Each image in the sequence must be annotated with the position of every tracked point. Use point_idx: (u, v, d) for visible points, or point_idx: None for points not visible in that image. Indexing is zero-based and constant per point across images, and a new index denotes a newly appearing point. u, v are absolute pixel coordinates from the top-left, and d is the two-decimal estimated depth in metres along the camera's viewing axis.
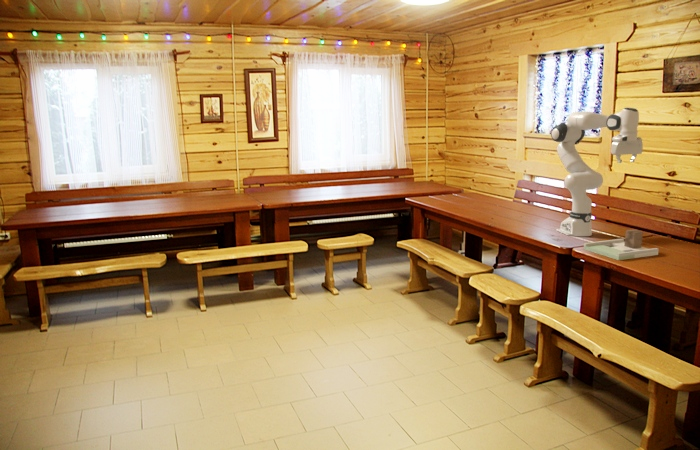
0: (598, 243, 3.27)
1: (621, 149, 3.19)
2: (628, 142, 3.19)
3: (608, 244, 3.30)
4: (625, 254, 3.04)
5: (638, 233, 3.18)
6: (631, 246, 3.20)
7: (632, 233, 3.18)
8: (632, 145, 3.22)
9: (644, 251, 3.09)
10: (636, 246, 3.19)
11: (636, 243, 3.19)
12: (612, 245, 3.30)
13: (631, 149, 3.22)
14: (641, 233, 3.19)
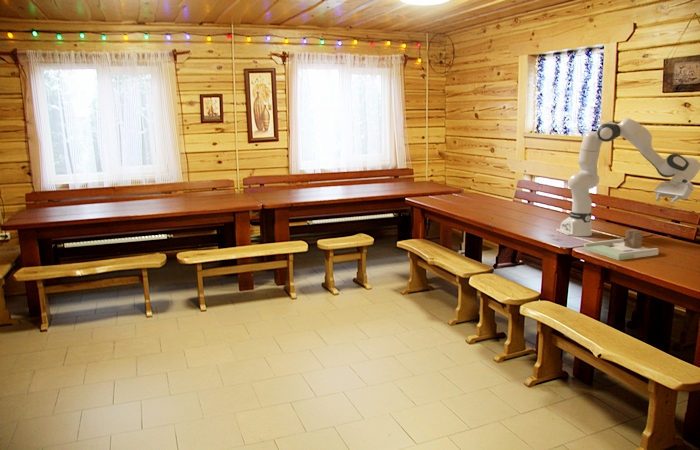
0: (598, 243, 3.27)
1: None
2: None
3: (608, 244, 3.30)
4: (625, 254, 3.04)
5: (638, 233, 3.18)
6: (631, 246, 3.20)
7: (632, 233, 3.18)
8: None
9: (644, 251, 3.09)
10: (636, 246, 3.19)
11: (636, 243, 3.19)
12: (612, 245, 3.30)
13: None
14: (641, 233, 3.19)
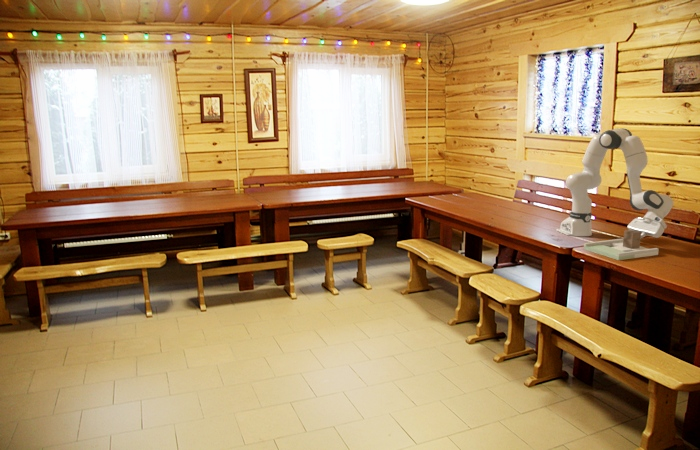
0: (598, 243, 3.27)
1: None
2: None
3: (608, 244, 3.30)
4: (625, 254, 3.04)
5: (636, 233, 3.18)
6: (629, 246, 3.19)
7: (630, 233, 3.18)
8: None
9: (644, 251, 3.09)
10: (634, 246, 3.19)
11: (634, 244, 3.18)
12: (612, 245, 3.30)
13: None
14: (639, 233, 3.18)
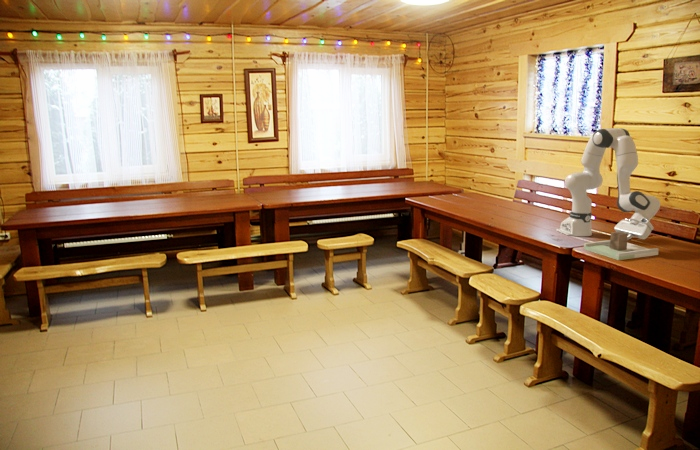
0: (598, 243, 3.27)
1: None
2: None
3: (608, 244, 3.30)
4: (625, 254, 3.04)
5: (623, 235, 3.14)
6: (616, 248, 3.15)
7: (617, 235, 3.14)
8: None
9: (644, 251, 3.09)
10: (621, 248, 3.15)
11: (621, 246, 3.15)
12: None
13: None
14: (626, 235, 3.15)
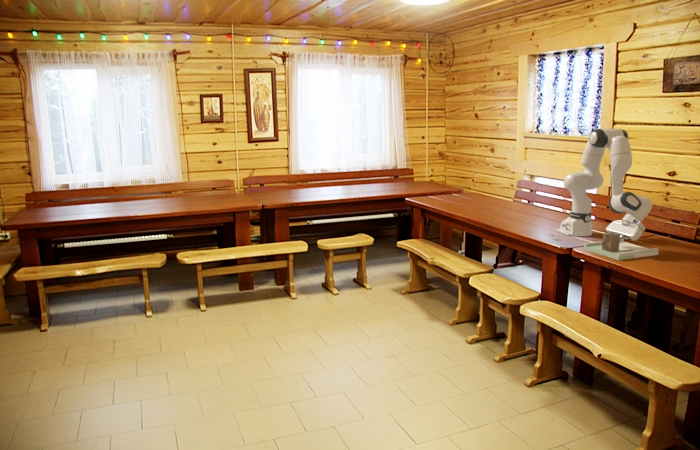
0: (598, 243, 3.27)
1: None
2: None
3: None
4: (625, 254, 3.04)
5: (615, 236, 3.11)
6: (608, 249, 3.13)
7: (609, 236, 3.11)
8: None
9: (644, 251, 3.09)
10: (613, 249, 3.13)
11: (613, 247, 3.12)
12: None
13: None
14: (618, 236, 3.12)
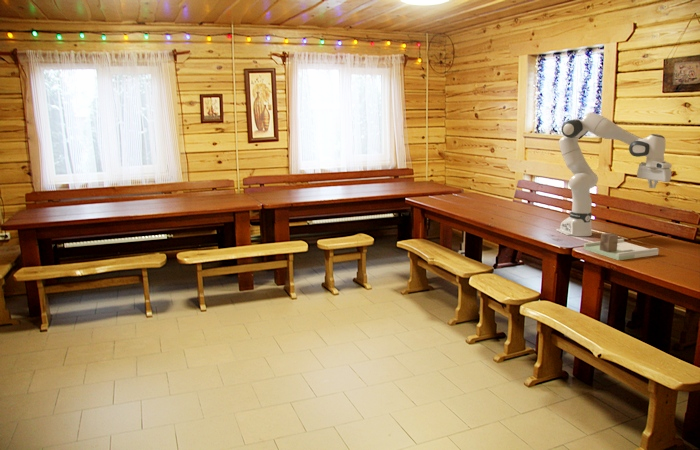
0: (598, 243, 3.27)
1: None
2: None
3: None
4: (625, 254, 3.04)
5: (613, 236, 3.11)
6: (606, 250, 3.12)
7: (607, 236, 3.11)
8: None
9: (644, 251, 3.09)
10: (611, 250, 3.12)
11: (611, 247, 3.12)
12: None
13: None
14: (616, 236, 3.12)
